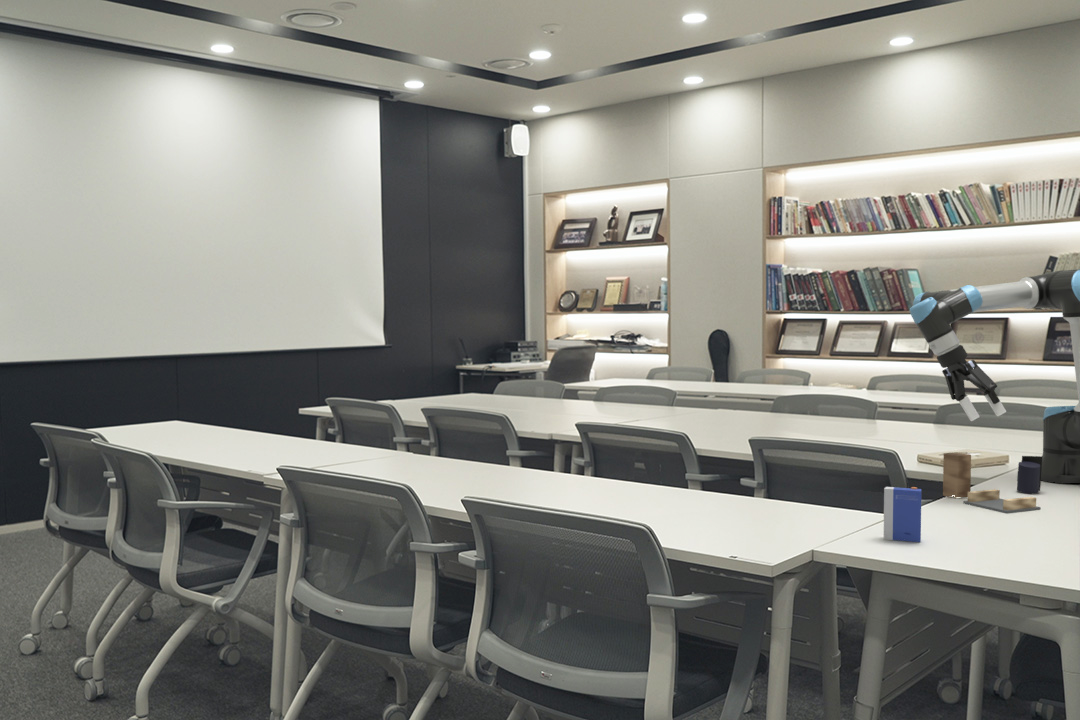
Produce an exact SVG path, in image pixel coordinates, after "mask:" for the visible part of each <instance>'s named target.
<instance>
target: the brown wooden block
mask: <svg viewBox="0 0 1080 720" xmlns="http://www.w3.org/2000/svg"><path fill="white" fill-rule="evenodd" d="M942 462H943V467H942V468H943V469H942V471H943V473H942V496H943V497H948V498H950V497H949V496H952V495H955V497H968V492H972V491H971V489H972V488H971V486H972V485H971V484H972V481H971V479H972V478H971V477H972V454H969V453H963V452H947V453H946V452H945V453H943V460H942ZM953 497H954V496H953Z"/></svg>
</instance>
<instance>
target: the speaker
mask: <svg viewBox="0 0 1080 720" xmlns="http://www.w3.org/2000/svg"><path fill="white" fill-rule="evenodd" d="M1017 467H1018V470H1017V477H1016V478H1017V480H1016V481H1017V483H1016V491H1018V492H1019V493H1022V494H1028V495H1036V494H1039V492H1040V491H1041V484H1042V482H1041V481H1042V480H1041V470H1042V455H1041V456H1040V455H1038V456H1037V455H1034V456H1033V455H1022V456H1021V461H1019V462H1018V466H1017Z"/></svg>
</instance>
